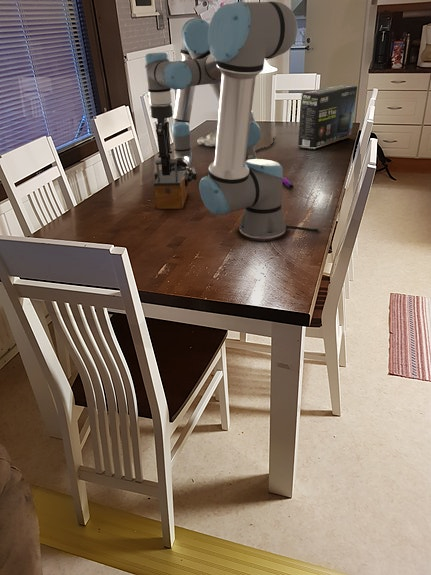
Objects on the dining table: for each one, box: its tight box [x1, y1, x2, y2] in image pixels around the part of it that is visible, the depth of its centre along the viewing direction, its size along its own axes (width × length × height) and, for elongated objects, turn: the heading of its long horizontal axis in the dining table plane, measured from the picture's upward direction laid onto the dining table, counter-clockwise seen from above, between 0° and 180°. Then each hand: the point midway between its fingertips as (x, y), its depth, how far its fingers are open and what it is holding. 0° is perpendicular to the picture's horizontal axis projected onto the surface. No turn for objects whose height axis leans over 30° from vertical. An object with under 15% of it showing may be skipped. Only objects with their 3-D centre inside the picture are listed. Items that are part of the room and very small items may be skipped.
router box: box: [297, 84, 358, 151], centre depth 238 cm, size 36×11×27 cm, turn 134°
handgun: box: [283, 176, 294, 190], centre depth 191 cm, size 21×8×2 cm, turn 11°
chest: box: [154, 175, 188, 210], centre depth 174 cm, size 14×10×9 cm
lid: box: [153, 158, 185, 187], centre depth 169 cm, size 15×10×9 cm, turn 176°
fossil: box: [196, 129, 217, 148], centre depth 250 cm, size 18×11×15 cm
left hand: (172, 183), depth 177 cm, fingers closed on chest, 10 cm apart
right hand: (167, 173), depth 165 cm, fingers open, 3 cm apart
